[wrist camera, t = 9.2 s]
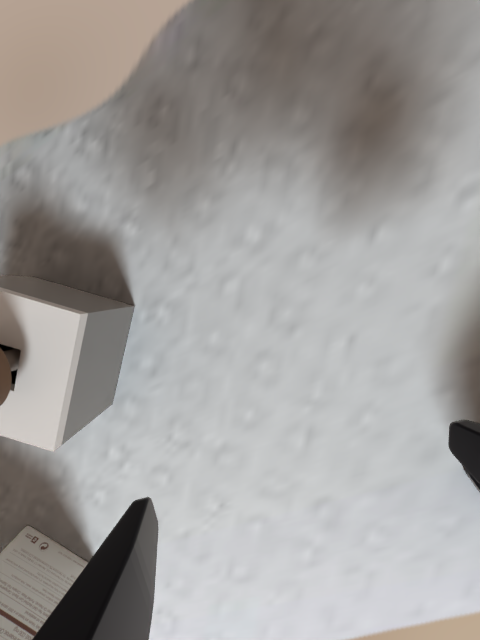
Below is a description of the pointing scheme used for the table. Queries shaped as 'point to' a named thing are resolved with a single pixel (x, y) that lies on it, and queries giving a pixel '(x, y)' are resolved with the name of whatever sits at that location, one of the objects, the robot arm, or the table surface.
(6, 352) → the plunger
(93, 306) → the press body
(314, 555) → the table surface
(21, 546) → the supplement box
